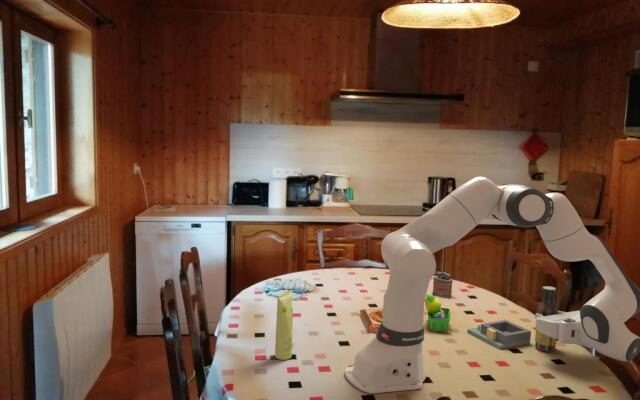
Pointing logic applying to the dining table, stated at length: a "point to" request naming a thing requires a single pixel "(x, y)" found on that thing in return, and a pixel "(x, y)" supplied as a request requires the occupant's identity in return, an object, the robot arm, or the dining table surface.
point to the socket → (495, 333)
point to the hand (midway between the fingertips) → (545, 314)
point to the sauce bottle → (546, 309)
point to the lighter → (442, 285)
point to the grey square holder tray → (495, 343)
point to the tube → (284, 327)
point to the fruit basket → (437, 314)
